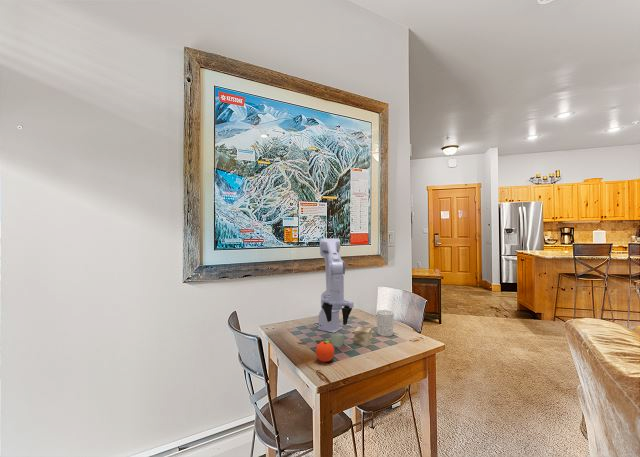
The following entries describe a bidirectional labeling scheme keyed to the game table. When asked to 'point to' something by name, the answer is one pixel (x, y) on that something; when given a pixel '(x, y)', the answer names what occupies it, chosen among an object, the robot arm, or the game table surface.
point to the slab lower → (363, 341)
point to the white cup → (385, 322)
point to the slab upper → (363, 332)
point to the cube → (337, 340)
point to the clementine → (325, 351)
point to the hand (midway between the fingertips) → (337, 322)
